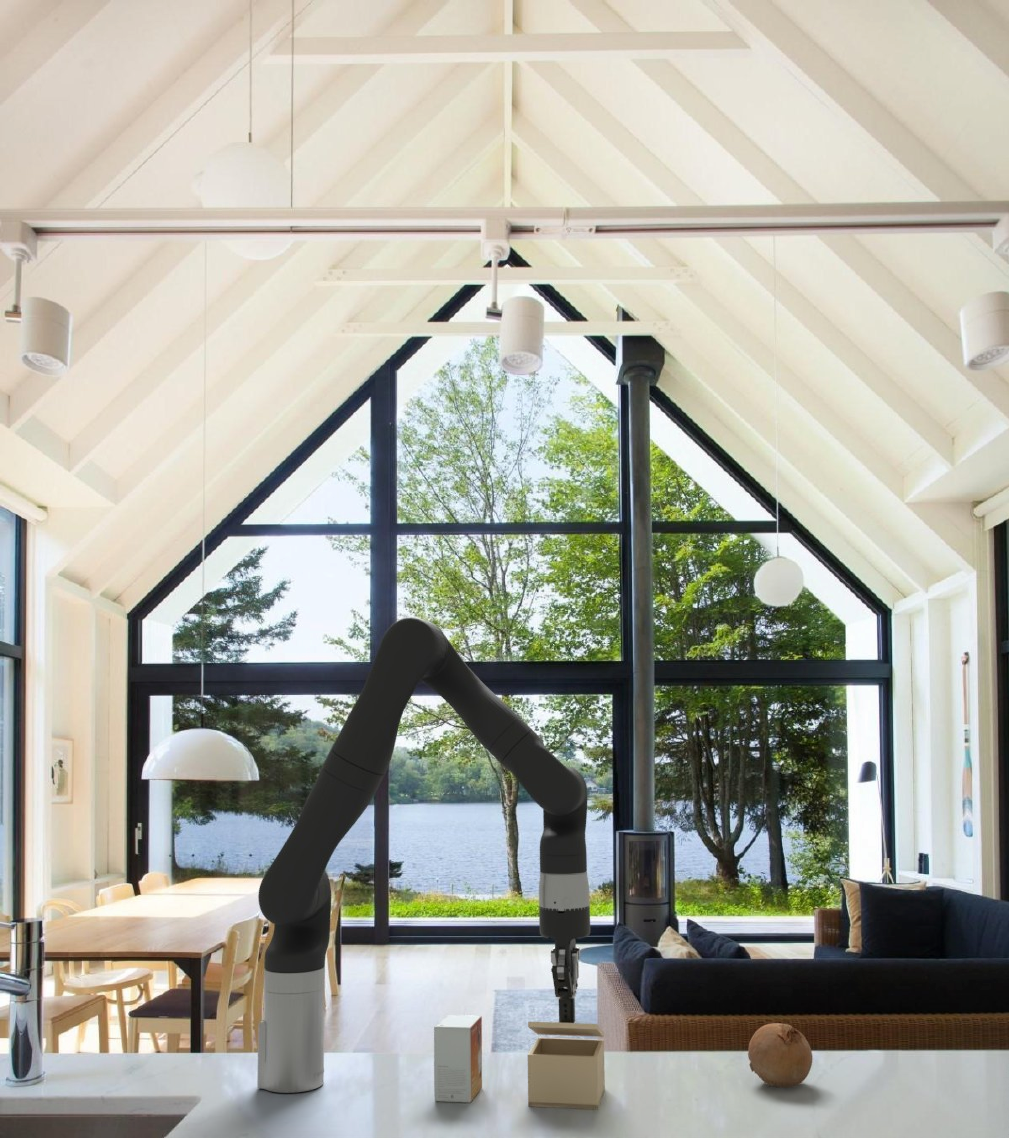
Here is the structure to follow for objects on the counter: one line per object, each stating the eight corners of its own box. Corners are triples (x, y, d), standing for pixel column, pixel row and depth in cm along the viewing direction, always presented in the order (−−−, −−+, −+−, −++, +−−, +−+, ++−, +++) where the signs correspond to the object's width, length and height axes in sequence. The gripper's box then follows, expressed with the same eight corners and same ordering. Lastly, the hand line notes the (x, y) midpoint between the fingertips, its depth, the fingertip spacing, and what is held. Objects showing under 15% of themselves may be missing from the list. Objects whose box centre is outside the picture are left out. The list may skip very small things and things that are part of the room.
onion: (804, 1111, 176) (823, 1055, 174) (741, 1092, 177) (760, 1036, 175) (798, 1070, 185) (817, 1016, 183) (739, 1053, 186) (757, 998, 184)
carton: (528, 1106, 170) (527, 1055, 171) (538, 1086, 180) (538, 1037, 181) (598, 1109, 168) (597, 1057, 169) (604, 1088, 178) (603, 1039, 179)
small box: (471, 1104, 171) (470, 1027, 173) (433, 1102, 173) (433, 1026, 174) (483, 1088, 179) (482, 1015, 181) (447, 1086, 180) (446, 1013, 182)
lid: (527, 1026, 172) (528, 1021, 172) (537, 1034, 181) (538, 1029, 181) (597, 1029, 170) (597, 1023, 171) (603, 1037, 179) (603, 1031, 179)
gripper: (545, 896, 184) (548, 1013, 182) (532, 909, 171) (535, 1035, 169) (594, 897, 183) (597, 1014, 181) (584, 910, 170) (587, 1036, 168)
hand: (567, 1024), depth 175 cm, fingers closed
